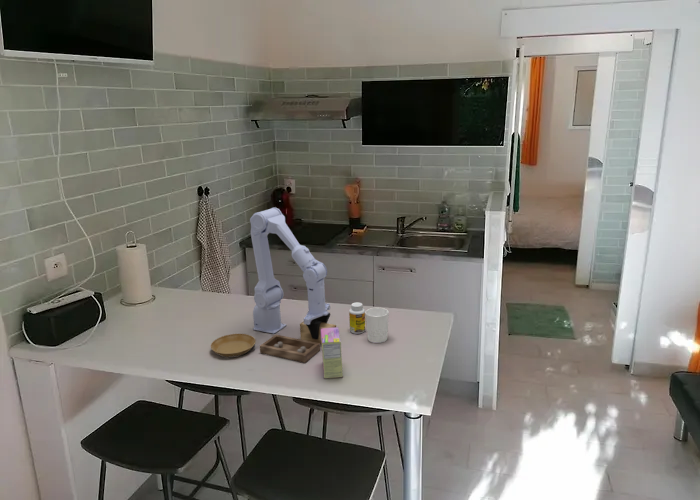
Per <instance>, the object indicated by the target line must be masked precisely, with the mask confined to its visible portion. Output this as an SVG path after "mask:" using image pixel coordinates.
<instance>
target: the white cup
mask: <svg viewBox="0 0 700 500" xmlns="http://www.w3.org/2000/svg"><path fill="white" fill-rule="evenodd" d="M389 315H390V314H389V310H388V309H387V308H384V307H371V308H368V309H365V328H366V333H367V335H366V336H367V340H368V342H369V343H370V342H371V343H374V344H382V343H384V342H387V340H388V332H389Z"/></svg>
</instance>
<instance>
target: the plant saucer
mask: <svg viewBox="0 0 700 500" xmlns="http://www.w3.org/2000/svg"><path fill="white" fill-rule="evenodd" d="M256 341H257V340H256V338H255V337H254V336H252V335H250V334H247V333H232V334H231V333H230V334H226V335H223V336H220V337H217V338H216V339H215V340H213V341H212V342H211V343H210V349H211V350H212V352H214V353H215V354H216V355H219V356H220V357H223V358H235V357H240V356H243V355H245V354H247V353H248V352H250V350H251V349H252V348H253V347H254V346H255V344H256Z"/></svg>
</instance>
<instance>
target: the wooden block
mask: <svg viewBox="0 0 700 500" xmlns="http://www.w3.org/2000/svg"><path fill="white" fill-rule="evenodd" d="M335 327H337V325H336V324H332V323H328V322H327V323H322V322H321V324H320V327H319V337H318V339H312V336H311V333H310V331H309V329H308V327H307V325H306V324H304V320H303V321H302V322H300V323H299V329H300V330H299V331H300V339H301V340H306V341H311V342H316V343H320V345H322V343H321V329H322V328H335Z"/></svg>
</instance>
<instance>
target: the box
mask: <svg viewBox="0 0 700 500" xmlns="http://www.w3.org/2000/svg"><path fill="white" fill-rule="evenodd" d="M321 343H322V344H321V353H322V355H321V356H322V368H323V379H336V378H343V356H342V354H343V353H342V341H341V335H340V329H339V326H338V327H337V326H336V327H335V328H322V329H321Z"/></svg>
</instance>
